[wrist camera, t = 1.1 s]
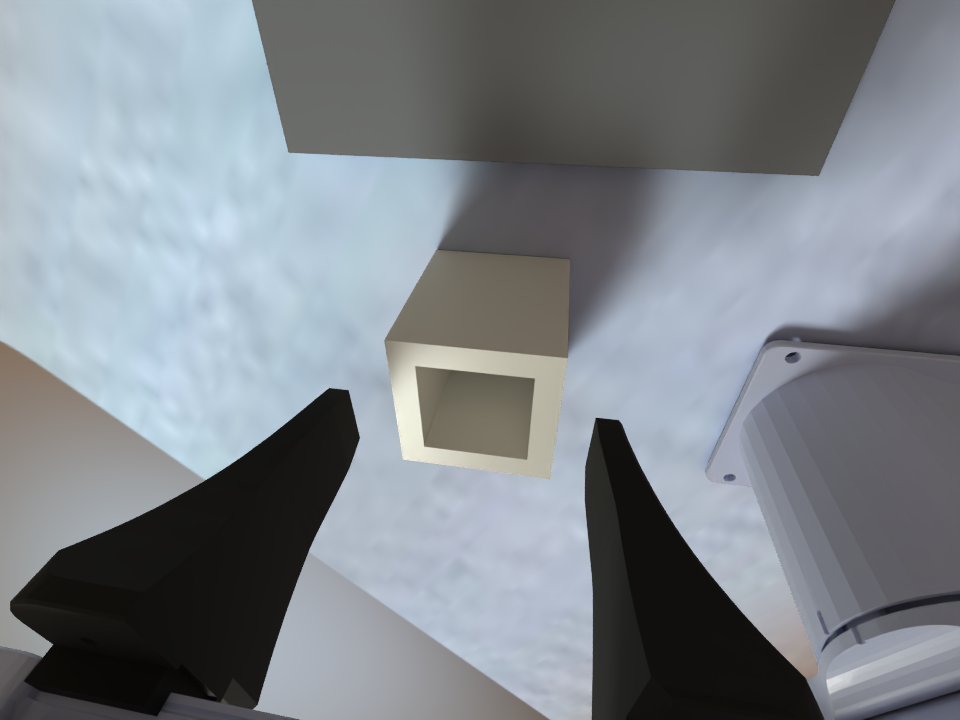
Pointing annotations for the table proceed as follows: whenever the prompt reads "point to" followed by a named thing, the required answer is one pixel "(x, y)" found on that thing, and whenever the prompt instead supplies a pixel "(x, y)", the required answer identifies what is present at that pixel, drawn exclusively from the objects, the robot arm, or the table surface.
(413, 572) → the table surface
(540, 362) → the sleeve
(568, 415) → the table surface
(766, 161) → the post board
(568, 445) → the table surface
